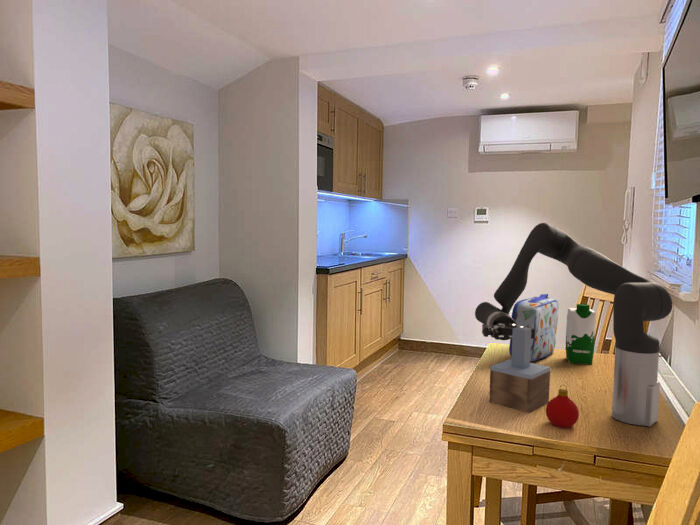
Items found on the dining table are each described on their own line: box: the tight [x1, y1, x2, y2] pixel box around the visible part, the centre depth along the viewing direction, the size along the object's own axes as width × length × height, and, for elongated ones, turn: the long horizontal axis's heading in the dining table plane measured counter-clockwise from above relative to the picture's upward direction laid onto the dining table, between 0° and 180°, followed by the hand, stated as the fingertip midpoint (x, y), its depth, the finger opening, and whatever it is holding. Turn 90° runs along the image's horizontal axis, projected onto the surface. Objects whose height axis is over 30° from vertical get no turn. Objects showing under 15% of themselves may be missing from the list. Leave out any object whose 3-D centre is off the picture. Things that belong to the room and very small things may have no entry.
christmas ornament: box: [545, 384, 580, 429], centre depth 121 cm, size 7×7×10 cm
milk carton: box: [565, 303, 597, 365], centre depth 179 cm, size 9×9×20 cm
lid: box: [490, 327, 551, 379], centre depth 135 cm, size 11×11×12 cm
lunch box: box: [508, 293, 559, 362], centre depth 185 cm, size 28×10×22 cm, turn 143°
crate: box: [488, 370, 551, 414], centre depth 135 cm, size 11×11×9 cm
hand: (513, 336), depth 143 cm, fingers open, 8 cm apart
